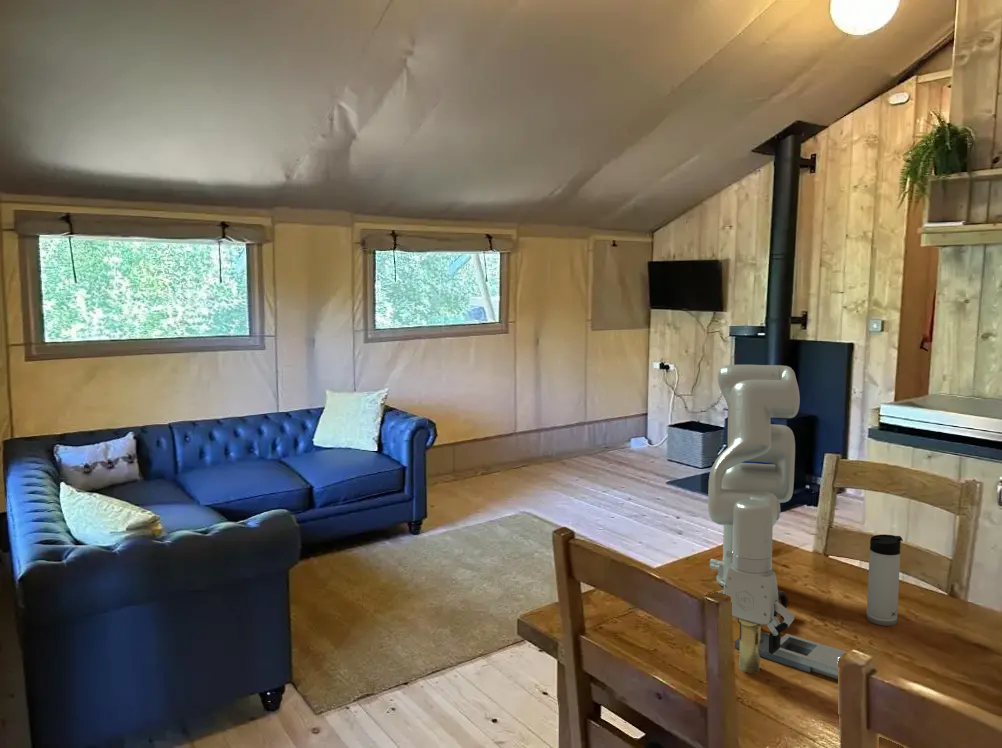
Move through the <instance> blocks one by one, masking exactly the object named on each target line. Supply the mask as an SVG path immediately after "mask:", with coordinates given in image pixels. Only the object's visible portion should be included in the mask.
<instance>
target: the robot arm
mask: <svg viewBox="0 0 1002 748" xmlns="http://www.w3.org/2000/svg"><path fill="white" fill-rule="evenodd" d="M717 381H718V383H717V385H718V386H719V389H720V392H721V395H722V396H723V398H724V400H725V403H726V406H727V447H726V448H725V449H723V451H722V453H720V454H719V456H718V457H717V458H716V459H715V461H714V463H713V464H712V466H711V469H710V472H709V477H708V492H707V493H708V494H707V495H708V496H707V498H708V499H707V508H708V515H709V518H710V519H711V521H712V522H713V523H716V524H718V525H722V526H723V534H722V535H723V537H722V538H723V544H722V545H723V548H722V560H718V559H715V558H710V560H709V568H710V569H712V570H716V571H717V572H718V573H717V574H716V582H717V583H718V584H719V585H720V586H721V587H723V589H721V590H718V591H716V592H718V593H723V594H726V595H728V596H730V597H731V602H732V617H733V618H740V619H744V620H747V621H750V622H754V623H757V624H761V625H762V626H767V629H769V631H770V633H768V634H769V653H770V654H773V653H774V652H775V651H777V650H778V649H779V648H780V638H782V637H781V635H782V634H781V633H783V632H784V631H785V630H787V629H788V628H789V627H791V624H792V623H793V621H794V620H795V619H796V615H795V614H794V613H793V612H791V611H790V610H788V609H787V608H785V607H784V606H782V605H781V604H780V603H778V591H779V589H778V583H777V577H776V572H775V570H773V564H772V563H773V529H774V526H775V525H776V523H777V522H778V521H779V520H780V516H781V503H782V504H783V503H786V502H789V501H790V500H791V499H792V497H793V493H794V483H795V465H796V463H795V461H796V440H795V435H794V432H793V430H792V429H791V428H790V427H789V426H787V425H785V424H772V423H771V422H772V421H771V418H772V419H773V418H775V419H777V418H779V419H793V418H795V417H796V416H797V414H798V413H799V409H800V404H801V403H800V401H801V400H800V399H801V397H800V389H799V385H798V381H797V378H796V373H795V371H794V369H792V367H791V366H788V365H781V364H778V365H776V364H766V365H765V364H728V365H724V366H722V367H721V368H720V369H719V370H718V373H717ZM750 462H751V463H750ZM767 463H768V464H767ZM769 463H773V464H769ZM714 592H715V591H714ZM714 592H713V591H712V593H714ZM778 613H779V614H780V615H782V616H783V617H784V621H783V623H780V622H779V619H778V616H780V615H779V614H778Z"/></svg>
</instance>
